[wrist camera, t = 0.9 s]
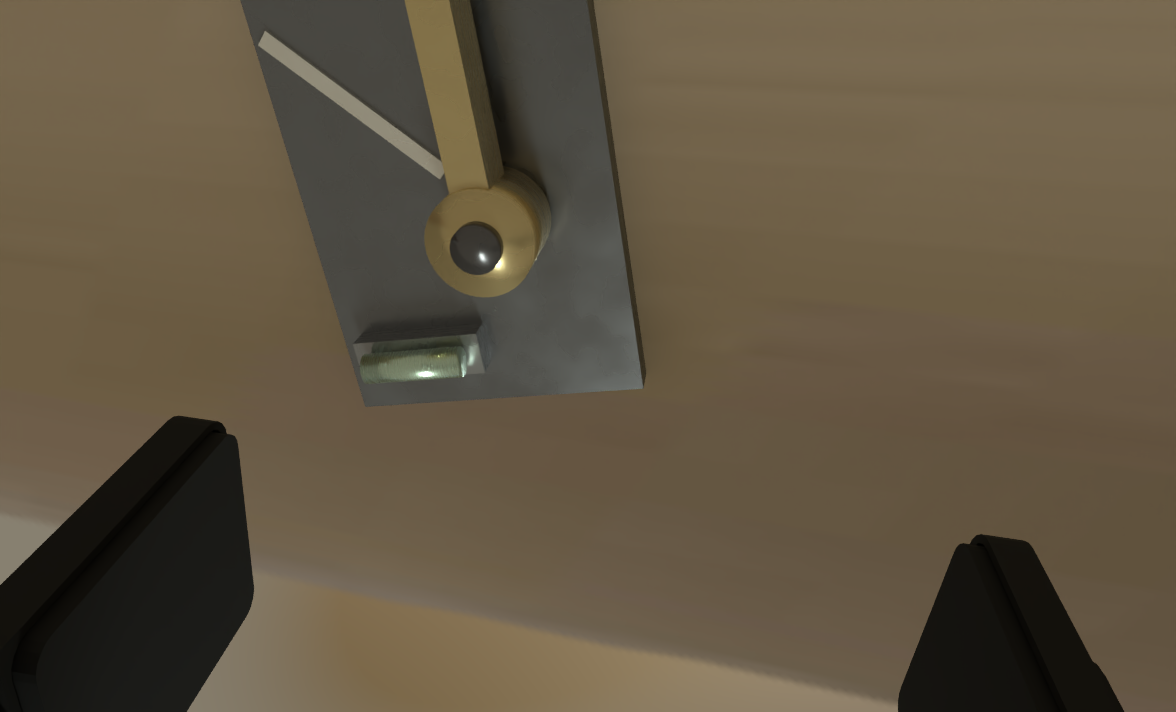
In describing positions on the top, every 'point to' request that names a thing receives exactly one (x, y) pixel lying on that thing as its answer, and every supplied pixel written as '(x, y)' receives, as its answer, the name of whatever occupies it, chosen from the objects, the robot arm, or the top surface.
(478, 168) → the lever with round hub
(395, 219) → the flat grey rectangular plate
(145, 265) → the top surface
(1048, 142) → the top surface
